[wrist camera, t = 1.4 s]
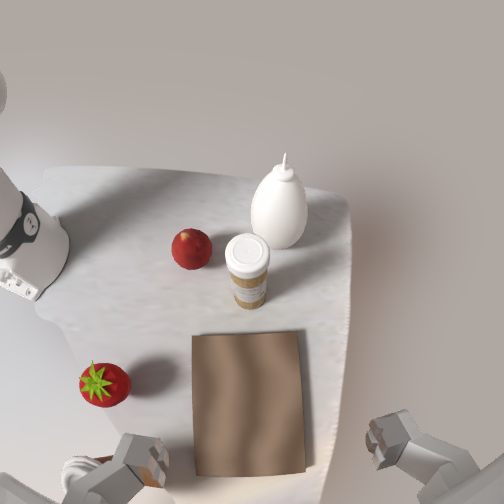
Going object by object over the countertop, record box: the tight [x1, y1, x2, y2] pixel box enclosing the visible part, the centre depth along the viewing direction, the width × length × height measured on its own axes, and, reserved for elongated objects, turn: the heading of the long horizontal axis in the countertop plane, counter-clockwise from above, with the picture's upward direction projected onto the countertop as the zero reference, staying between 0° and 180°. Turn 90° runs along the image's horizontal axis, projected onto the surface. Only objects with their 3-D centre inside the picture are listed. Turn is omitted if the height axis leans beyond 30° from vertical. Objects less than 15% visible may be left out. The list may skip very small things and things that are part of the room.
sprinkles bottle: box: [225, 233, 270, 310], centre depth 33 cm, size 5×5×14 cm
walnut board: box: [192, 332, 306, 477], centre depth 31 cm, size 14×20×2 cm
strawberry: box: [79, 360, 131, 408], centre depth 28 cm, size 6×8×10 cm
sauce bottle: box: [251, 153, 308, 249], centre depth 35 cm, size 8×8×18 cm
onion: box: [172, 228, 212, 270], centre depth 38 cm, size 6×6×8 cm
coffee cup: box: [61, 455, 133, 504], centre depth 20 cm, size 9×9×12 cm
